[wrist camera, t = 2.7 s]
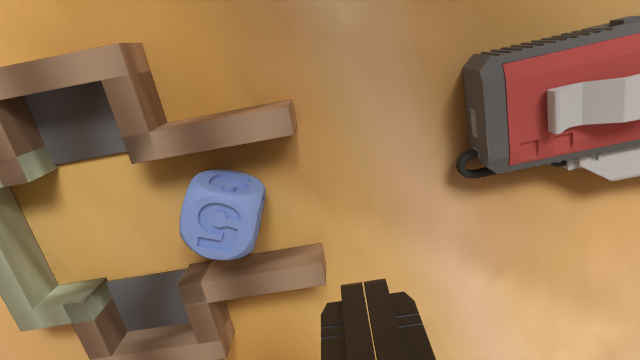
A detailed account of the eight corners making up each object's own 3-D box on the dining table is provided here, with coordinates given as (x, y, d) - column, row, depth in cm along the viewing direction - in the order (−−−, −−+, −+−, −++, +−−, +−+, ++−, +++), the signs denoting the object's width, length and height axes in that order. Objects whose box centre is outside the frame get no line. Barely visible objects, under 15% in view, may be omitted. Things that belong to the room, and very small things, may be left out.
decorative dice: (198, 221, 25) (176, 254, 21) (204, 164, 23) (182, 187, 20) (259, 232, 25) (248, 266, 21) (268, 176, 24) (259, 202, 20)
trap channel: (274, 16, 20) (268, 12, 18) (336, 316, 27) (338, 342, 25) (-68, 85, 22) (-115, 90, 19) (72, 355, 29) (50, 383, 26)
